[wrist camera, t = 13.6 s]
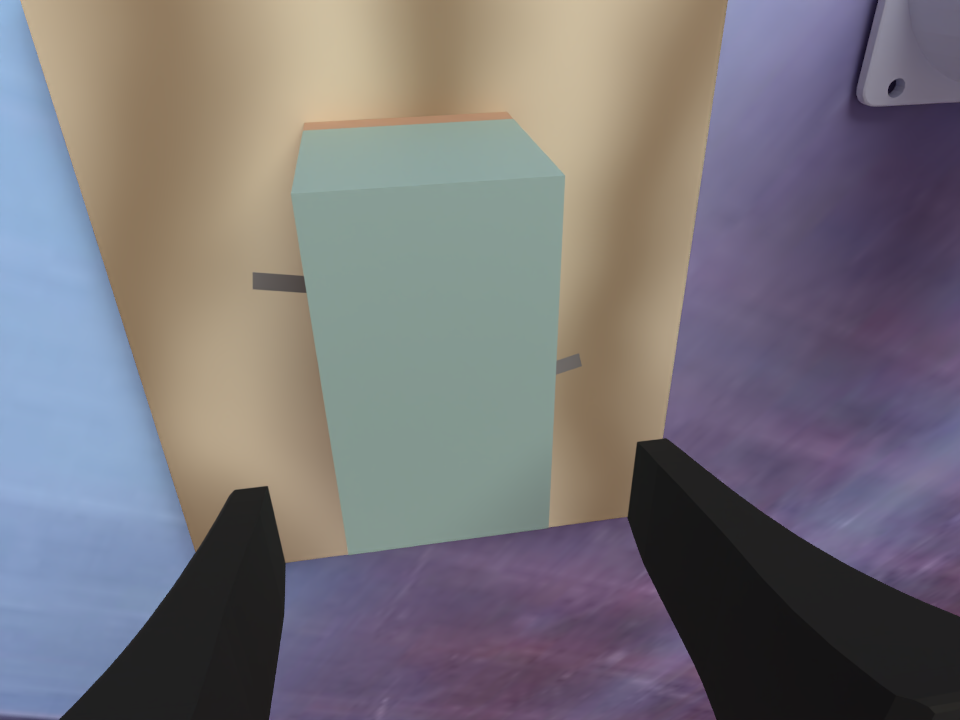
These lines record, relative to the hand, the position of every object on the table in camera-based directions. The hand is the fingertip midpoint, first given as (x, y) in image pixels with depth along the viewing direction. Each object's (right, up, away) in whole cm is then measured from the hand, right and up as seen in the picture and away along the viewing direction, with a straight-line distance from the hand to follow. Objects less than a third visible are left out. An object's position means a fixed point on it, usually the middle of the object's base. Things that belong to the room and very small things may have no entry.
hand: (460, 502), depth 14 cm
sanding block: (-1, +5, +6) cm, 8 cm away
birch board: (-2, +5, +8) cm, 9 cm away
